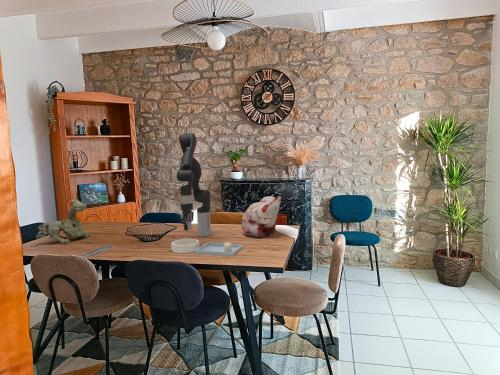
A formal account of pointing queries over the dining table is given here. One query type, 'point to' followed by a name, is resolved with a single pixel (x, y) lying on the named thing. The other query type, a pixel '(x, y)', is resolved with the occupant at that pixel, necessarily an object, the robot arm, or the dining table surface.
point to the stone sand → (227, 247)
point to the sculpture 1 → (65, 226)
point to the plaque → (97, 251)
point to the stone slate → (189, 225)
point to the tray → (218, 249)
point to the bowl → (185, 245)
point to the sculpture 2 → (261, 217)
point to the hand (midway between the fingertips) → (187, 229)
